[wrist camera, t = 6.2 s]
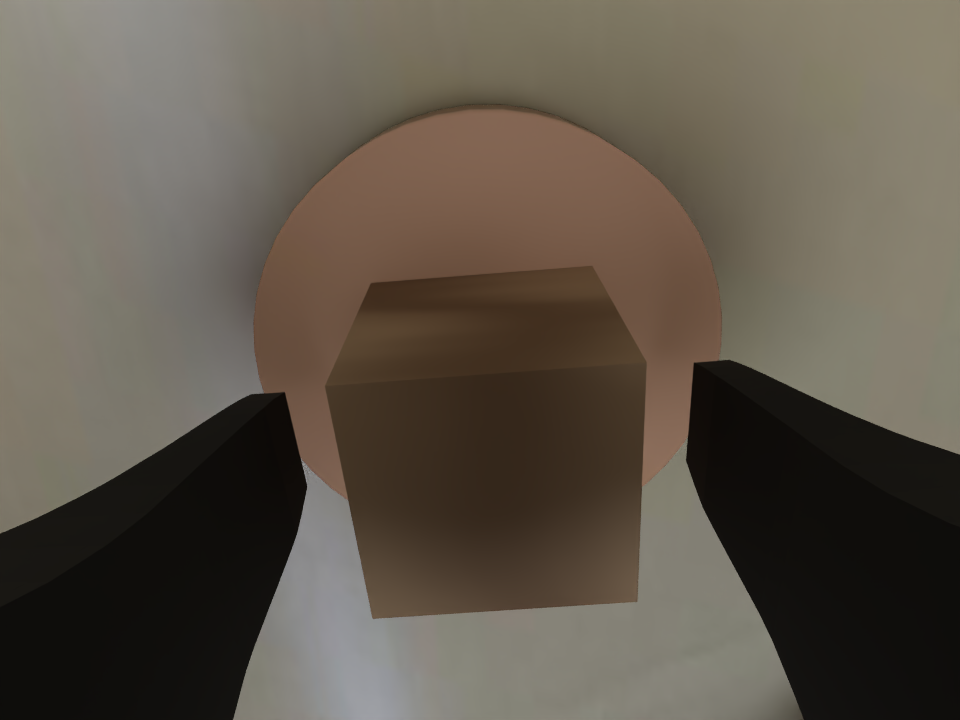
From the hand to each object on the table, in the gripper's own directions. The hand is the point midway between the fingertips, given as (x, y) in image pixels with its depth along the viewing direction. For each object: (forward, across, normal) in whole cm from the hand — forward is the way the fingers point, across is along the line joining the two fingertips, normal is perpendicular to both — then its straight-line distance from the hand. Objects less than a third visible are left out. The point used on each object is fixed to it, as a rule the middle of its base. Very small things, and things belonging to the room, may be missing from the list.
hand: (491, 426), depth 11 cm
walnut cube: (+3, 0, 0) cm, 3 cm away
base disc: (+5, 0, 0) cm, 5 cm away
